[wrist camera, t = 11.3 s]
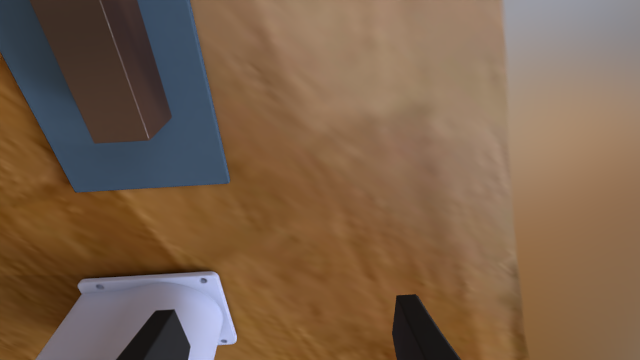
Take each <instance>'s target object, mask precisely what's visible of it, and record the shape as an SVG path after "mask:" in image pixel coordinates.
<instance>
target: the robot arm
mask: <svg viewBox="0 0 640 360" xmlns="http://www.w3.org/2000/svg"><path fill="white" fill-rule="evenodd" d="M203 278H204V279H203ZM78 289H79V290H80V292H81V293H82V295H81V296H80V298H79V299H78V300H77V302H76V303H75V305H74V306H73V307H72V309H71V310H70V312H69V313H68V314H67V316H66V317H65V319H64V320H63V321H62V323H61V324H60V326H59V327H58V328H57V330H56V331H55V333H54V334H53V335H52V337H51V338H50V340H49V341H48V342H47V344H46V345H45V347H44V348H43V349H42V351H41V352H40V354H39V355H38V356H37V358H36V359H35V360H214V356H215V352H216V348H217V345H226V344H234V343H235V342H236V340H237V335H236V332H235V328H234V325H233V322H232V318H231V315H230V312H229V309H228V305H227V302H226V299H225V295H224V292H223V289H222V285H221V282H220V279H219V276H218V274H217V273H215V272H213V271H206V272H190V273H174V274H157V275H141V276H124V277H108V278H91V279H82V280H81V281H80V282H79V284H78ZM392 335H393V341H394V346H395V352H396V357H397V360H461V359H460V358H459V356H458V355H457V354H456V352H455V351H454V349H453V348H452V347H451V345H450V344H449V343H448V341H447V340H446V338H445V337H444V336H443V334H442V333H441V331H440V330H439V328H438V327H437V325H436V324H435V322H434V321H433V319H432V318H431V316H430V315H429V313H428V312H427V310H426V308H425V307H424V305H423V304H422V302H421V300H420V299H419V297H418V296H417V295H416V294H414V295H398V296H397V297H396V305H395V314H394V322H393V331H392Z"/></svg>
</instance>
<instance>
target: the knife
mask: <svg viewBox="0 0 640 360" xmlns="http://www.w3.org/2000/svg"><path fill="white" fill-rule="evenodd" d="M30 3H31V5H32V7H33V9H34V12H35V14H36V16H37V18H38V20H39V23H40V25H41V27H42V29H43V31H44V34H45V36H46V38H47V40H48V42H49V45H50V47H51V49H52V51H53V54H54V56H55V58H56V60H57V62H58V65H59V67H60V69H61V71H62V73H63V76H64V78H65V80H66V82H67V84H68V87H69V89H70V91H71V93H72V96H73V98H74V100H75V102H76V104H77V107H78V109H79V111H80V113H81V115H82V118H83V120H84V122H85V124H86V126H87V129H88V131H89V133H90V135H91V138H92V140H93V142H94V143H95V144H98V143H115V142H132V141H149V140H151V139H152V138H153V137H154V135H155V134H156V133H157V132H158V131H159V130H160V129H161V128H162V127H163V126H164V125H165V124H166V123H167V122H168V121H169V120H170V119H171V118H172V115H171V112H170V108H169V105H168V102H167V98H166V95H165V92H164V88H163V85H162V82H161V78H160V75H159V72H158V68H157V65H156V62H155V58H154V55H153V52H152V48H151V45H150V42H149V38H148V35H147V32H146V28H145V25H144V21H143V18H142V15H141V11H140V8H139V5H138V1H137V0H30Z"/></svg>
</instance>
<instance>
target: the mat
mask: <svg viewBox="0 0 640 360" xmlns="http://www.w3.org/2000/svg"><path fill="white" fill-rule="evenodd" d="M137 1H138V5H139V8H140V11H141V15H142V18H143V21H144V25H145V28H146V32H147V35H148V38H149V42H150V45H151V48H152V52H153V55H154V58H155V62H156V65H157V68H158V72H159V75H160V78H161V82H162V85H163V88H164V92H165V95H166V98H167V102H168V105H169V108H170V112H171V115H172V118H171V119H170V120H169V121H168V122H167V123H166V124H165V125H164V126H163V127H162V128H161V129H160V130H159V131H158V132H157V133H156V134H155V135H154V137H153V138H152V139H151V140H149V141H132V142H115V143H98V144H95V143H94V142H93V140H92V138H91V135H90V133H89V131H88V129H87V126H86V124H85V122H84V120H83V118H82V115H81V113H80V111H79V109H78V107H77V104H76V102H75V100H74V98H73V96H72V93H71V91H70V89H69V87H68V84H67V82H66V80H65V78H64V76H63V73H62V71H61V69H60V67H59V65H58V62H57V60H56V58H55V56H54V54H53V51H52V49H51V47H50V45H49V42H48V40H47V38H46V36H45V34H44V31H43V29H42V27H41V25H40V23H39V20H38V18H37V16H36V14H35V12H34V9H33V7H32V5H31V3H30V0H0V52H1V54H2V56H3V58H4V59H5V61H6V63H7V65H8V67H9V69H10V71H11V73H12V74H13V76H14V78H15V80H16V82H17V84H18V86H19V88H20V89H21V91H22V93H23V95H24V97H25V99H26V101H27V103H28V104H29V106H30V108H31V110H32V112H33V114H34V116H35V118H36V120H37V121H38V123H39V125H40V127H41V129H42V131H43V133H44V135H45V136H46V138H47V140H48V142H49V144H50V146H51V148H52V150H53V151H54V153H55V155H56V157H57V159H58V161H59V163H60V165H61V166H62V168H63V170H64V172H65V174H66V176H67V178H68V180H69V182H70V183H71V185H72V187H73V189H74V191H75V192H91V191H108V190H125V189H142V188H159V187H176V186H193V185H210V184H227V183H229V182H230V177H229V172H228V168H227V163H226V159H225V155H224V150H223V146H222V141H221V137H220V132H219V128H218V123H217V119H216V115H215V110H214V106H213V101H212V97H211V92H210V88H209V83H208V79H207V75H206V70H205V66H204V61H203V57H202V52H201V48H200V43H199V39H198V35H197V30H196V26H195V21H194V17H193V12H192V8H191V3H190V0H137Z"/></svg>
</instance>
